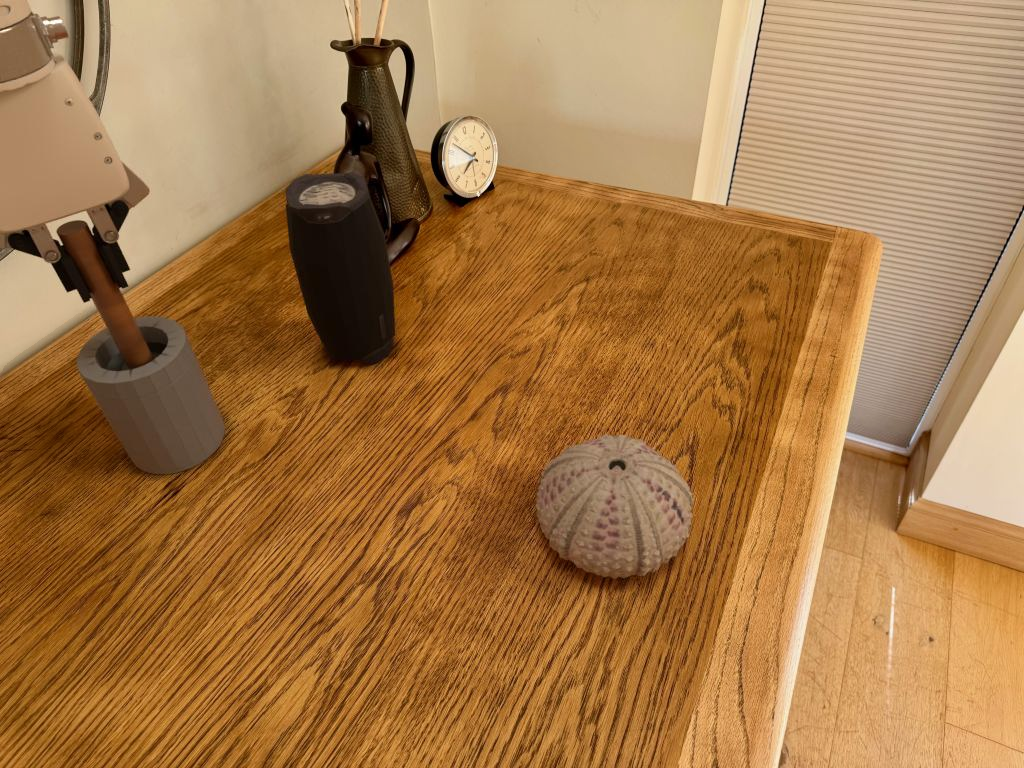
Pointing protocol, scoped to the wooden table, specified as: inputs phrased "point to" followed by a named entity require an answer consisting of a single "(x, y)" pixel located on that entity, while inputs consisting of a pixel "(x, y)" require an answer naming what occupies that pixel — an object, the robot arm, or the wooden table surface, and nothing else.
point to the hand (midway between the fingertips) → (101, 285)
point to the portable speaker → (342, 265)
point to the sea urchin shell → (614, 506)
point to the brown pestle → (105, 294)
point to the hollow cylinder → (155, 398)
